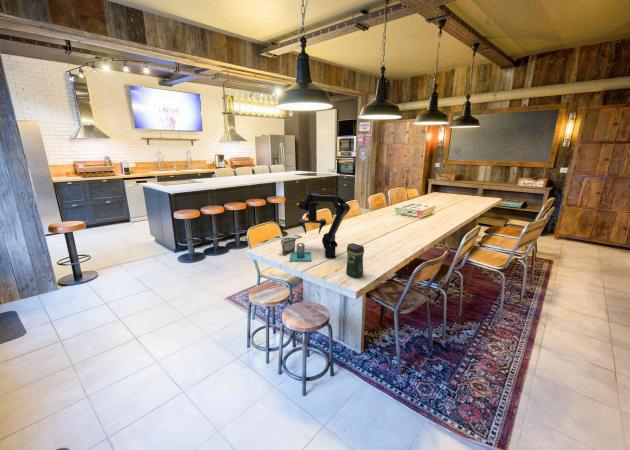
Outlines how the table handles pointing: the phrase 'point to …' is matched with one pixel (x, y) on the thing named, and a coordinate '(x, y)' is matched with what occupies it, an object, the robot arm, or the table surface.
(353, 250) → the coffee jar
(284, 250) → the food container
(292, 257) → the teal tray
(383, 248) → the table surface
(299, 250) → the grey tin
